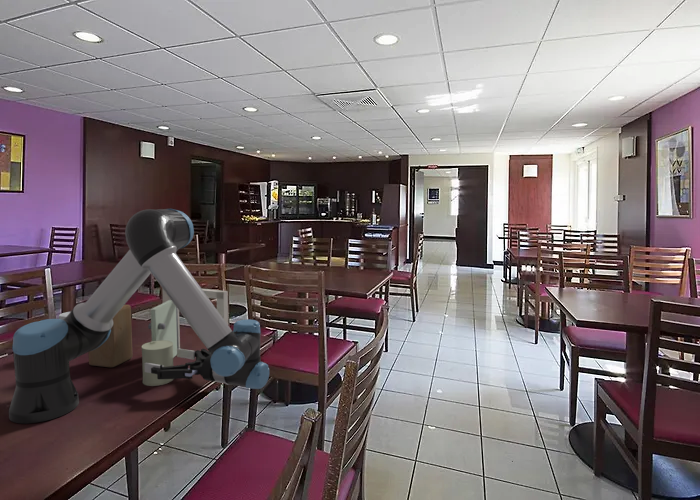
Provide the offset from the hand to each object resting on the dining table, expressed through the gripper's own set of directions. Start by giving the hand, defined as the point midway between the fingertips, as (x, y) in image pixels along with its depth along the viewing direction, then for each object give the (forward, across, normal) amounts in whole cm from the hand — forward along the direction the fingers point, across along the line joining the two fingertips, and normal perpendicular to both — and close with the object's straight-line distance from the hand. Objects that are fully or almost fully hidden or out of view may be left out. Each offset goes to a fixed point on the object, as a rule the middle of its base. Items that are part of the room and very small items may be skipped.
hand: (162, 359), depth 131 cm
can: (+2, 0, -7) cm, 7 cm away
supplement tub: (+49, +9, -7) cm, 50 cm away
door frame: (+6, +22, -7) cm, 24 cm away
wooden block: (+28, +6, -7) cm, 29 cm away
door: (+10, +12, -7) cm, 17 cm away
